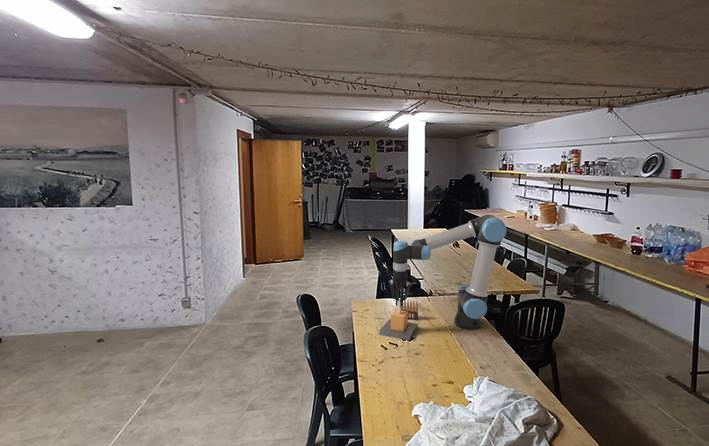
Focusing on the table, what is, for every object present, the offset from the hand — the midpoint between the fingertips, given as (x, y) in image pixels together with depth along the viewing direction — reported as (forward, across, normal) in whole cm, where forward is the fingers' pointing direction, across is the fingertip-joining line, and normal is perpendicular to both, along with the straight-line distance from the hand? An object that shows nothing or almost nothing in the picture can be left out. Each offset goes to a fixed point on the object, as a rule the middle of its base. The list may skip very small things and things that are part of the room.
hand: (399, 311), depth 215 cm
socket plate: (+11, 0, 0) cm, 11 cm away
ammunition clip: (+12, 0, -19) cm, 22 cm away
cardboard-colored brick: (+11, 0, 0) cm, 11 cm away
